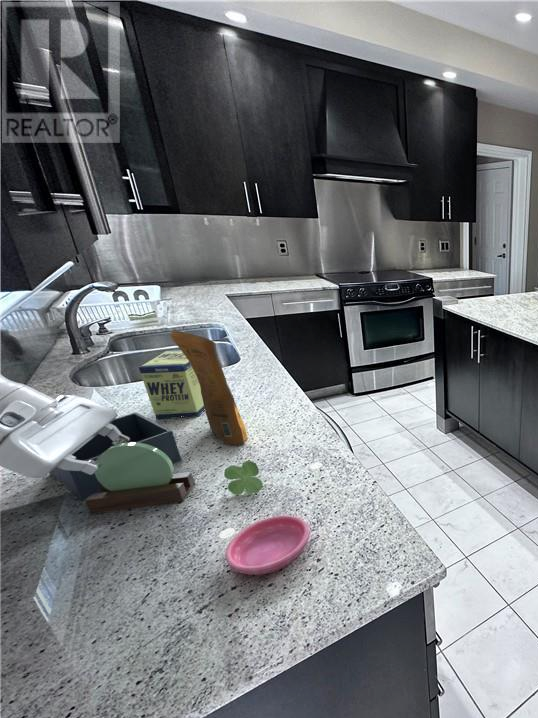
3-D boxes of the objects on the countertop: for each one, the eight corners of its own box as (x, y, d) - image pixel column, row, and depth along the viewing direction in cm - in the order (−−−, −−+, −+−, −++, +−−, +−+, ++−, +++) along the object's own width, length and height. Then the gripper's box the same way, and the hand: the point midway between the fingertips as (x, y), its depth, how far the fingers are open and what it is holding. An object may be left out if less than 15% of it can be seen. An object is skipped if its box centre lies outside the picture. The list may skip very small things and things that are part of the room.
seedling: (256, 500, 90) (246, 504, 83) (226, 479, 89) (213, 481, 83) (281, 474, 92) (272, 476, 86) (251, 452, 91) (241, 453, 85)
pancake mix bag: (227, 454, 97) (196, 343, 86) (197, 429, 108) (166, 327, 97) (257, 443, 102) (231, 336, 92) (225, 420, 113) (199, 322, 102)
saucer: (305, 574, 66) (302, 560, 65) (218, 590, 63) (213, 575, 62) (316, 522, 77) (313, 509, 76) (242, 534, 74) (238, 520, 73)
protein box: (155, 419, 111) (137, 367, 105) (183, 396, 125) (168, 348, 119) (198, 417, 114) (183, 365, 108) (221, 394, 128) (208, 347, 122)
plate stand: (183, 502, 81) (178, 488, 80) (90, 514, 77) (84, 500, 76) (195, 484, 87) (191, 471, 85) (109, 494, 82) (103, 481, 81)
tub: (83, 500, 81) (67, 468, 78) (49, 474, 88) (34, 443, 85) (181, 459, 95) (172, 430, 92) (146, 439, 102) (136, 412, 99)
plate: (178, 492, 83) (161, 442, 78) (106, 501, 79) (83, 449, 75) (181, 488, 84) (164, 438, 79) (110, 497, 80) (88, 446, 76)
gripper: (55, 403, 80) (131, 440, 87) (-39, 459, 62) (66, 500, 69) (75, 380, 80) (150, 419, 86) (-15, 430, 62) (89, 474, 68)
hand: (112, 455), depth 77 cm, fingers open, 8 cm apart
